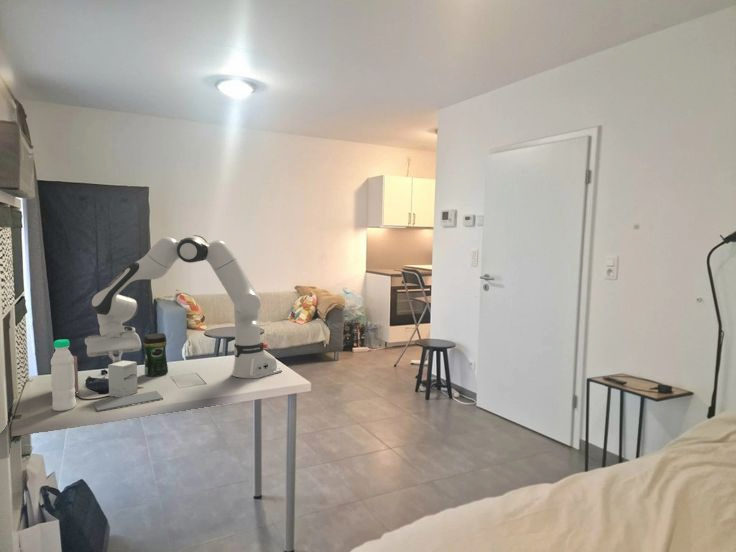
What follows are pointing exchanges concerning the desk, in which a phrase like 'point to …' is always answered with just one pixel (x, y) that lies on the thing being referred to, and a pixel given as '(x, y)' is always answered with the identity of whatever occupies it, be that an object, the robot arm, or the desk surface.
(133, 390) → the supplement box
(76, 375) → the greeting card
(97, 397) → the desk surface
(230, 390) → the desk surface
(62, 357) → the water bottle
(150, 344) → the coffee jar
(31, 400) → the desk surface
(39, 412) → the desk surface
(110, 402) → the mat
